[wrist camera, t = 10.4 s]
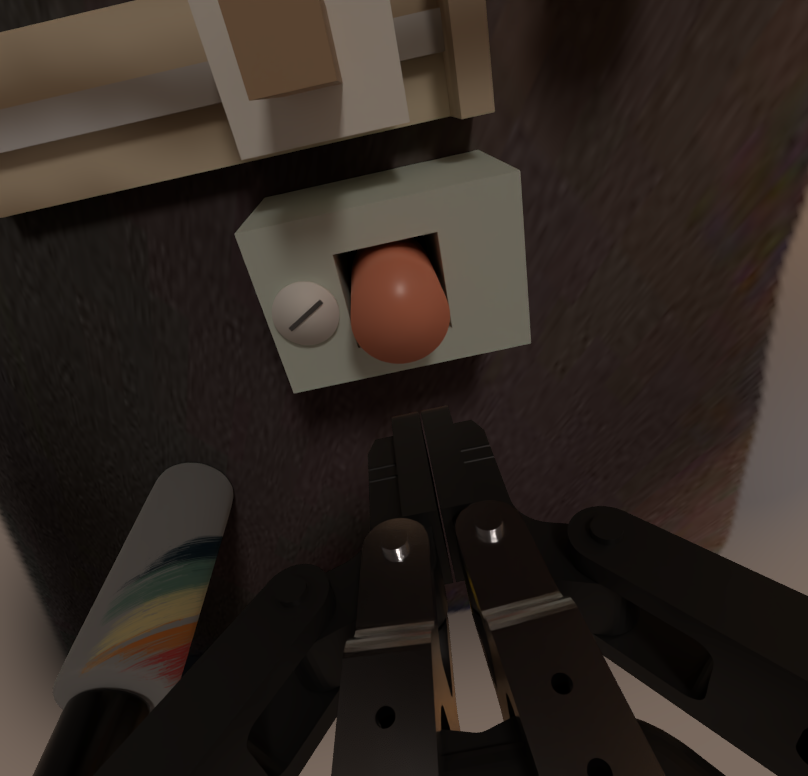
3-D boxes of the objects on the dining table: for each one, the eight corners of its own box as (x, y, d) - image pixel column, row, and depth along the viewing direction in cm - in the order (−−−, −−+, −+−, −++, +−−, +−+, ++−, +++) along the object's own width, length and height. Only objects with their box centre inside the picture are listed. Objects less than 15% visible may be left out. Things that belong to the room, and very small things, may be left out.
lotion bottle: (176, 522, 39) (38, 858, 22) (142, 469, 36) (-48, 810, 19) (245, 508, 39) (160, 835, 22) (217, 453, 36) (93, 782, 19)
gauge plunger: (342, 241, 24) (339, 283, 19) (423, 223, 24) (442, 261, 19) (361, 316, 26) (363, 372, 21) (436, 300, 26) (456, 352, 21)
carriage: (207, -8, 20) (81, -92, 11) (373, -48, 20) (389, -167, 11) (258, 149, 23) (193, 190, 14) (401, 117, 23) (433, 136, 14)
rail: (-73, 57, 23) (-160, 51, 19) (455, -68, 22) (477, -101, 18) (17, 211, 26) (-40, 232, 23) (474, 108, 26) (494, 111, 22)
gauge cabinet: (264, 197, 27) (232, 236, 20) (478, 149, 27) (523, 172, 20) (307, 327, 31) (293, 397, 24) (492, 287, 31) (533, 346, 24)
